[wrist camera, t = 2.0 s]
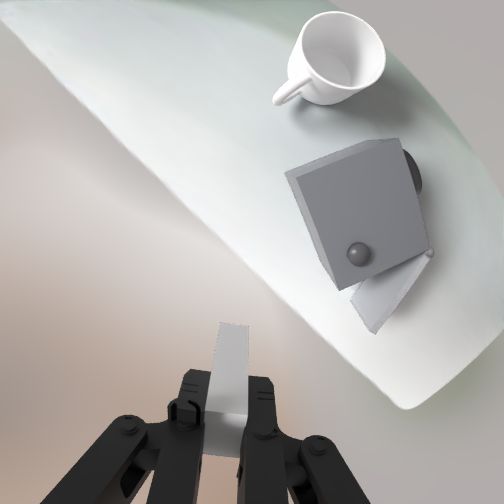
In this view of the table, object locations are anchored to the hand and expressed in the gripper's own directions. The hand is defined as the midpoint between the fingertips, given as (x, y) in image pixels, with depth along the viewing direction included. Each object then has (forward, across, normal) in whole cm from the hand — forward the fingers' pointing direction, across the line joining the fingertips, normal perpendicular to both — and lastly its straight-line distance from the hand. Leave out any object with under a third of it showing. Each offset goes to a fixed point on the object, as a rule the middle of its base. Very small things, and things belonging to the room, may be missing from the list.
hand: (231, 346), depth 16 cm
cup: (+23, +5, +20) cm, 31 cm away
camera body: (+23, +13, +7) cm, 27 cm away
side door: (+23, +18, -1) cm, 29 cm away
